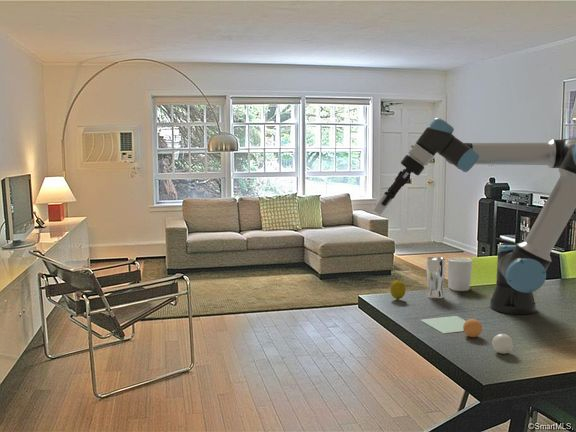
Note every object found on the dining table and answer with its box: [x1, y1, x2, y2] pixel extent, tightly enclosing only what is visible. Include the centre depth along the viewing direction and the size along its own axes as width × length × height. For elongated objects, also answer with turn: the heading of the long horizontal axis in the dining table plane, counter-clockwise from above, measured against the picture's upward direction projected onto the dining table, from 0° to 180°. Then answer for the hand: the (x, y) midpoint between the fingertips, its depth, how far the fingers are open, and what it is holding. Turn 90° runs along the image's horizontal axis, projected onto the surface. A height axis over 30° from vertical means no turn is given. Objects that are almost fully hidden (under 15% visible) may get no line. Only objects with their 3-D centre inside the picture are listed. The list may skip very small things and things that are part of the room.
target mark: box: [419, 315, 467, 335], centre depth 182 cm, size 14×14×1 cm
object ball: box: [463, 318, 483, 338], centre depth 170 cm, size 6×6×6 cm
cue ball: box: [492, 333, 514, 355], centre depth 157 cm, size 6×6×6 cm
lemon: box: [390, 279, 406, 301], centre depth 210 cm, size 6×6×8 cm
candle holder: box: [447, 256, 474, 292], centre depth 227 cm, size 10×10×12 cm
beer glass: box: [426, 256, 446, 300], centre depth 214 cm, size 7×7×15 cm
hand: (377, 210), depth 192 cm, fingers open, 13 cm apart
